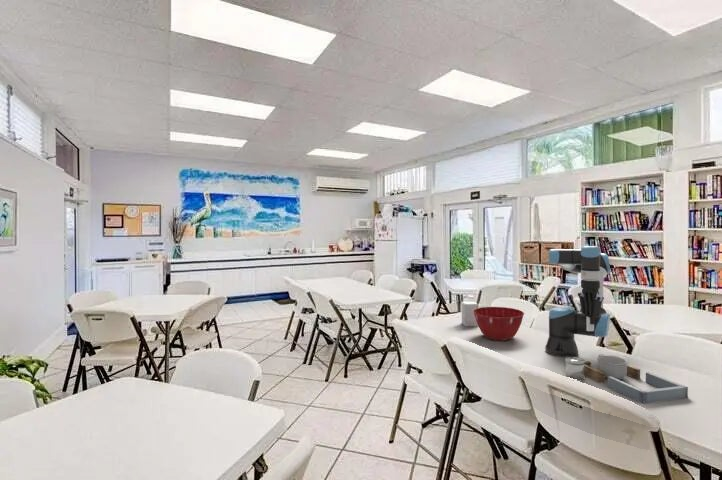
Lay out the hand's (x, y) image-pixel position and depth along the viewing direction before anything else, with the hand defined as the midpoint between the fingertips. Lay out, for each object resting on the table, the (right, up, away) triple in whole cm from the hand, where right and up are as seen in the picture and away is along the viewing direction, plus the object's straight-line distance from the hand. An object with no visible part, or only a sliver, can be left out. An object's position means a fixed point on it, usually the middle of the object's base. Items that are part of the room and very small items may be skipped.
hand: (590, 330), depth 176 cm
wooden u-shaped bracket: (+2, -17, -9) cm, 19 cm away
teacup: (+3, -18, -10) cm, 20 cm away
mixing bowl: (-24, -16, +51) cm, 58 cm away
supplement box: (-33, -15, +81) cm, 88 cm away
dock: (+6, -18, -26) cm, 32 cm away
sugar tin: (-13, -18, -11) cm, 25 cm away
